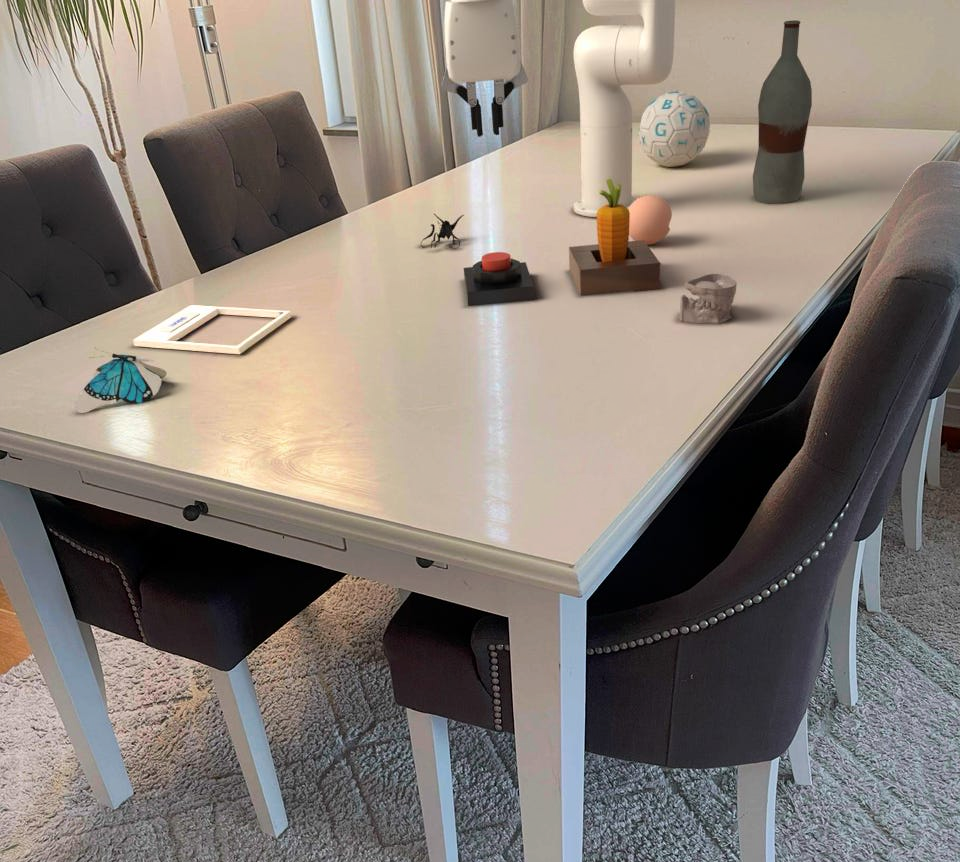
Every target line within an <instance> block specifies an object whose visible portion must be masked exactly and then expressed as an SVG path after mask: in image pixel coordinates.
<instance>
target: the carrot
mask: <svg viewBox="0 0 960 862" xmlns="http://www.w3.org/2000/svg"><path fill="white" fill-rule="evenodd" d="M606 182H607V185H608V188H609V190H610V193H611V194H610V193H609V194H608V193H607V192H606V191H603V190H601V191H599V193H600V194H601V195H603V196H604V197H605V198H606V199H607V200H608V202H609V204H608V205H605V206H603V207H601V208H600V209H599V210H598V211H597V217H596V233H597V244H599V250H600V255H601V259H602V262H606V261H617V260H625V256H626V252H627V247H628V242H629V240H630V239H629V238H630V236H629V225H630V212H629V210H628V209H627V208H626V207H625V206H624V205H622V204H618V201H619V198H620V194H621V185H620V184H617V187H616V189H614V185H613V183H612V180H611V179H608V180H606Z"/></svg>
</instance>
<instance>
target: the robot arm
mask: <svg viewBox="0 0 960 862" xmlns="http://www.w3.org/2000/svg"><path fill="white" fill-rule="evenodd" d="M581 1H582V5H583V7H584V9H585V11H586V12H587V13H588V14H590V15H592V16H595V17H596V16H597V17H631V16H632V17H633V16H640V17H641V18H642V21H643V23H639V24H638V23H637V24H636V23H635V24H625V23H623V24H600V25H595V26H590V27H588V28H586V29H584V30H582V32H580V34H579V35H578V36H577V37H576V40H575V42H574V44H573V45H574V46H573V64H574V65H573V66H574V70H575V76H576V81H577V88H578V97H579V98H578V99H579V127H580V128H579V129H580V131H579V132H580V179H581V180H580V185H581V192H580V193H581V195H580V196H581V198H580V199H579V200H576V201H575V202H574V204H573V212H574V213H575V214H577V215H579V216H583V217H588V218H597V211H598V210H599V209H600V208H601V207H603V206H605V205H608V204H609V202H608V200H607V199H606V198H605V197H604V196H603V195H601V194H600V193H599V191H601V190H603V191H606V192H607V193H608V194H609V193H610V190H609V188H608V185H607V182H606V180H608V179H611V180H612V183H613V185H614V189H616V187H617V184H620V185H621V194H620V198H619V201H618V204H622V205H624V206H625V207H626V208H627V209H628V208H629V207H630V205H631V204H632V203H633V202H634V201H635V200H637V199H638V198H636V197H633V196H632V193H633V187H632V186H633V107H632V104H631V102H630V99H629V97H628V96H627V94H626V92H625V91H624V90H623V88H622V86H628V85H629V86H636V85H637V86H638V85H640V86H641V85H645V86H646V85H647V86H648V85H649V86H650V85H658V84H661V83H664V81H666V80H667V79H668V78H669V76H670V73H671V71H672V68H673V63H674V54H675V53H674V51H675V26H676V25H675V24H676V23H675V22H676V21H675V19H676V0H581ZM443 26H444V27H443V29H444V49H445V50H444V54H445V65H446V66H445V70H444V73H443V78H442V82H441V89H442V90H443V91H446V92H449V93H451V94H455V95H458V96H459V97H460V98H461V99H462V100H463V101H465V103H467V104H468V105H469V108H470V109H469V111H470V122H471V131H475V130H476V135H477V137H478V138H479V137H480V138H481V137H482V136H484V131H483V118H482V106H481V104H480V100H479V99H478V98H477V88H476V87H477V85H476V83H477V82H488V81H490V82H491V81H493V97H492V102H491V104H490V105H491V108H490V109H491V122H492V132H493V135H495V136H500V128H504V113H503V112H504V110H503V104H504V102H505V100H506V99H507V98H508V96H509V95H511V93H512V92H513V91H514V90H515V89H518V88H519V87H520V86H523V85H525V84H527V83H528V81H529V77H528V75H527V73H526V70H525V68H524V65H523V63H522V61H521V48H520V36H519V28H518V21H517V15H516V8H515V3H514V0H446V1H445V3H444V23H443ZM507 79H508V80H507ZM504 80H506V81H504ZM464 83H465V86H464V85H462V84H464ZM610 194H611V193H610Z"/></svg>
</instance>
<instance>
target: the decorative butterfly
mask: <svg viewBox="0 0 960 862" xmlns="http://www.w3.org/2000/svg"><path fill="white" fill-rule="evenodd" d="M94 349H96V350H97V351H99V349H98V348H96V347H94ZM102 352H103V353H107V354H108V351H103V350H102ZM109 354H110V355H111V357H112V358H113V359H111V360H109V361H108V362H107V363H104V364H102V365H100V366H99V367H97V368H96V369H95V371H94V372H93V374H92V377H93V378H92V379H90V380H89V382H88V383H87V384H86V385H85V386H84V388H83V389H82V390H81V392H80V393H79V395H78V396H77V398H76V400H75V402H74V409H75V411H76V412H78V413H80V414H86V413H89V412H91V411H93V410H95V409H97V408H100V407H102V406H106V405H114V404H117V403H118V402H120V400H121V401H123V402H125V403H128V404H140V403H145V402H148V401H150V400H152V399H153V398H154V397H155V396H156V395H157V394H158V392H159V391H160V388H161V386H162V379H164V378H165V377H166V376H167V374H168V373H167V371H166V370H165V369H164V368H161V367H157V366H154V365H151V364H147V363H146V362H152V363H153V362H154V359H149V358H145V357H141V356H137V355H129V354H117V353H110V352H109ZM101 357H104V355H103V356H100V358H101ZM93 358H96V357H95V356H92V357H90V359H93Z"/></svg>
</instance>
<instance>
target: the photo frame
mask: <svg viewBox="0 0 960 862" xmlns="http://www.w3.org/2000/svg"><path fill="white" fill-rule="evenodd" d="M218 315H227V316H228V315H230V316H243V317H245V316H246V317H260V318H261V317H262V318H274V319H272V320H271V321H269V323H267V324H266V325H264V326H263V327H262V328H260V329H259V330H257V331H255V332H254V333H253V334H252V335H250V336H249V337H247V338H246V339H244V340H243V341H242V342H241V343H239V344H237V345H229V344H216V343H215V344H214V343H202V342H190V341H179V340H180V339H182V338H184V337H185V336H187V334H190V333H191V332H192V331H194V330H196V329H197V328H199V327H201V326H202V325H204V324H205V323H207V322H208V321H210V320H211V319H213V318H214V317H216V316H218ZM291 318H292V312H291V310H277V309H265V308H264V309H262V308H246V307H229V306H215V305H213V306H212V305H211V306H210V305H197V304H196V305H195V304H191V305H189V306H186V307H185V308H183V309H182V310H181V311H178V312H177V313H175V314H174V315H172V316H170V317H169V318H166V319H165V320H164V321H162V322H160V323H159V324H157V325H155V326H154V327H152V328H151V329H150V328H149V330H147V331H145V332H144V333H141V334H140V335H139V336H137V337H135V338H134V339H132V342H133V346H134V347H143V348H154V349H155V348H156V349H169V350H182V351H191V352H192V351H194V352H206V353H219V354H231V355H241V354H242V353H244V352H245V351H246V350H248V349H250V348H251V347H252V346H254V345H255V344H256V343H257V342H259V341H260V340H262V339H263V338H264V337H266V336H267V335H269V334H270V333H272V332H273V331H274V330H276V329H277V328H278V327H280V326H281V325H282V324H284V323H285V322H287V321H288V320H289V319H291Z"/></svg>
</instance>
